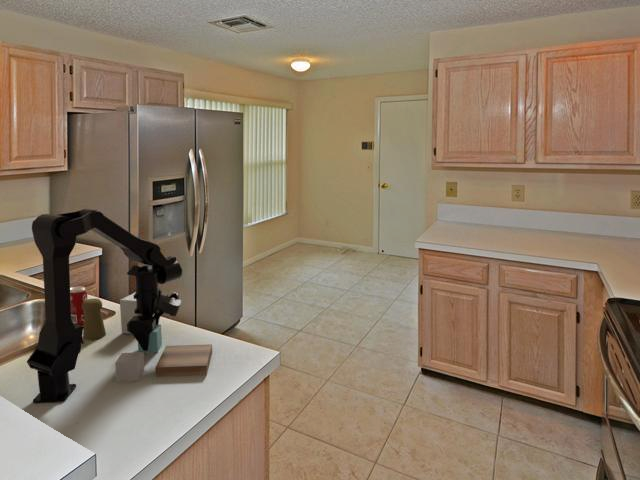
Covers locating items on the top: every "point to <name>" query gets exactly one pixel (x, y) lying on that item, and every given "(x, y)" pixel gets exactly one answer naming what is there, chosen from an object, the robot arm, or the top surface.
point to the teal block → (153, 341)
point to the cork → (93, 320)
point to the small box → (127, 311)
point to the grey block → (129, 367)
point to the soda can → (78, 304)
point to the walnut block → (184, 360)
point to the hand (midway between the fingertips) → (150, 343)
